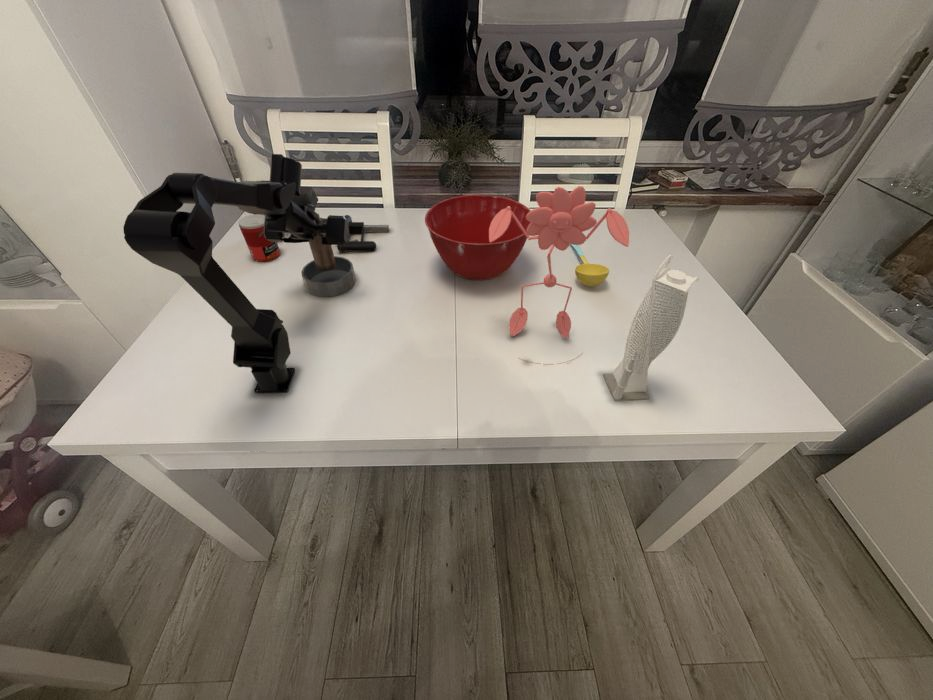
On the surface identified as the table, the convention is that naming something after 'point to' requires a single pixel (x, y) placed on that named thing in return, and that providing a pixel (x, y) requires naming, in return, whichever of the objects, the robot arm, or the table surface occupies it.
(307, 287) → the tin
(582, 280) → the ladle
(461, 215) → the mixing bowl
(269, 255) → the canned food
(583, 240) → the figurine
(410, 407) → the table surface
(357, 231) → the door handle
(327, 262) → the pepper mill
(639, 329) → the skyscraper
